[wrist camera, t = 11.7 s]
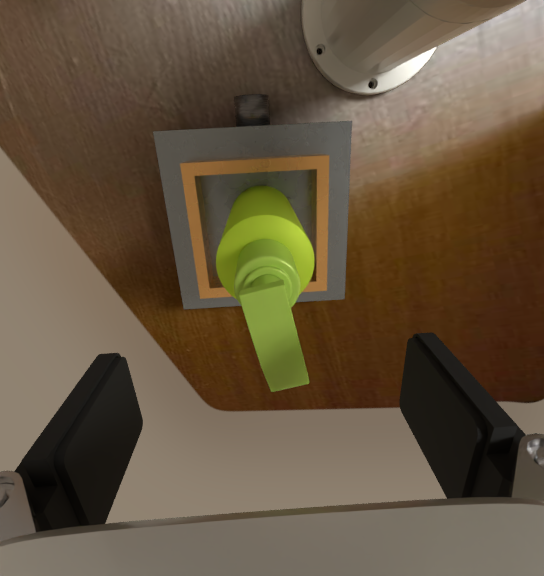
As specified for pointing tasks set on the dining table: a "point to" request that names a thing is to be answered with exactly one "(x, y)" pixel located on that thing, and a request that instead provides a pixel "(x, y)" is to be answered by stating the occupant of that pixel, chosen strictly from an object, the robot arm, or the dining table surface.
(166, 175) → the bottle holder tray
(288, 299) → the green pump bottle
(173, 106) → the dining table surface
